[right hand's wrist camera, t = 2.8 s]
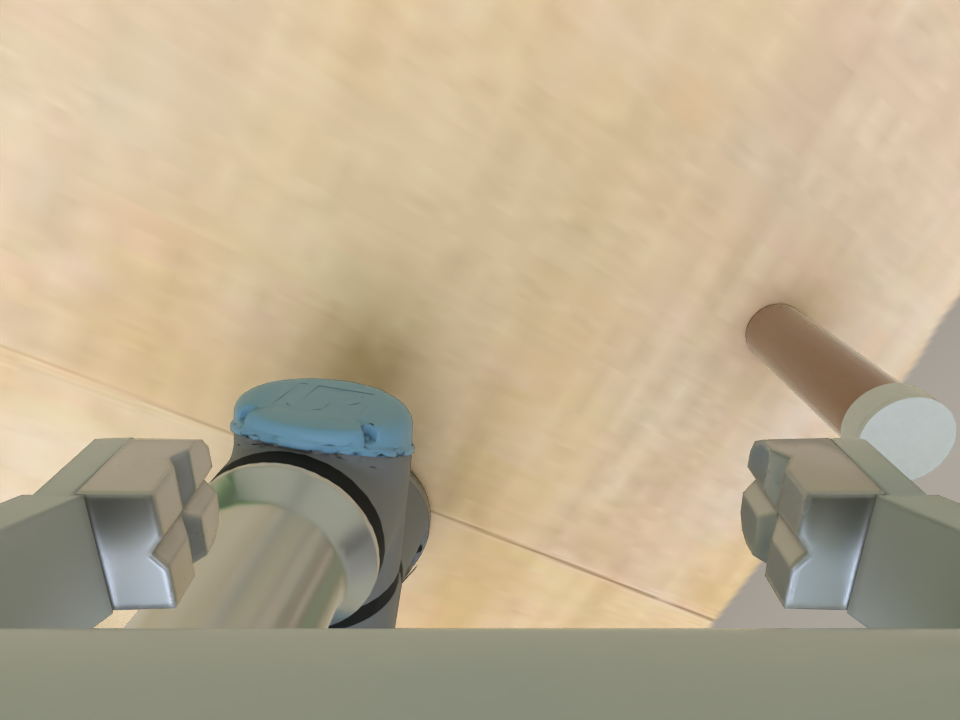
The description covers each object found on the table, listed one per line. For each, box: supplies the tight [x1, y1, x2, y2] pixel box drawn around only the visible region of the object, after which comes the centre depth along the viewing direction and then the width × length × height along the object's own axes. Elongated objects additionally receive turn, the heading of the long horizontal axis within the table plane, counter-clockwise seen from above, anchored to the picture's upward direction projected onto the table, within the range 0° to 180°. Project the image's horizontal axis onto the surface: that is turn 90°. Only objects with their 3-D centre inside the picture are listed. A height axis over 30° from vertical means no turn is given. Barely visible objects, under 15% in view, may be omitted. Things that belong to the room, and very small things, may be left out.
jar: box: [746, 304, 900, 438], centre depth 51 cm, size 5×5×20 cm
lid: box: [841, 383, 956, 480], centre depth 43 cm, size 6×6×2 cm
